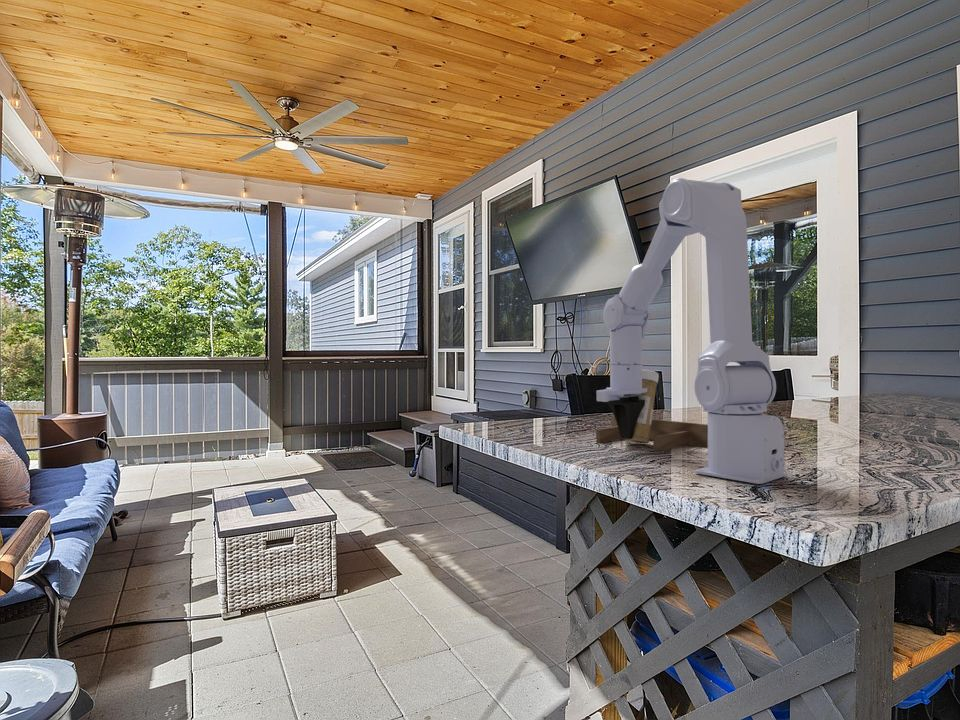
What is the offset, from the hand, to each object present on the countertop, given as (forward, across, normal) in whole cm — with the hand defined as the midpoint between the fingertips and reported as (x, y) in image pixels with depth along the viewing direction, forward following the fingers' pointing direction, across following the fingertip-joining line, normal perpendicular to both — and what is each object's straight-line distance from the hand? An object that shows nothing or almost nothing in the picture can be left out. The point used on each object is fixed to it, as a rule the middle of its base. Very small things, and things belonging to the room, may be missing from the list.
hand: (626, 438), depth 108 cm
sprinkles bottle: (+1, -2, 0) cm, 3 cm away
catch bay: (+1, -5, 0) cm, 5 cm away
